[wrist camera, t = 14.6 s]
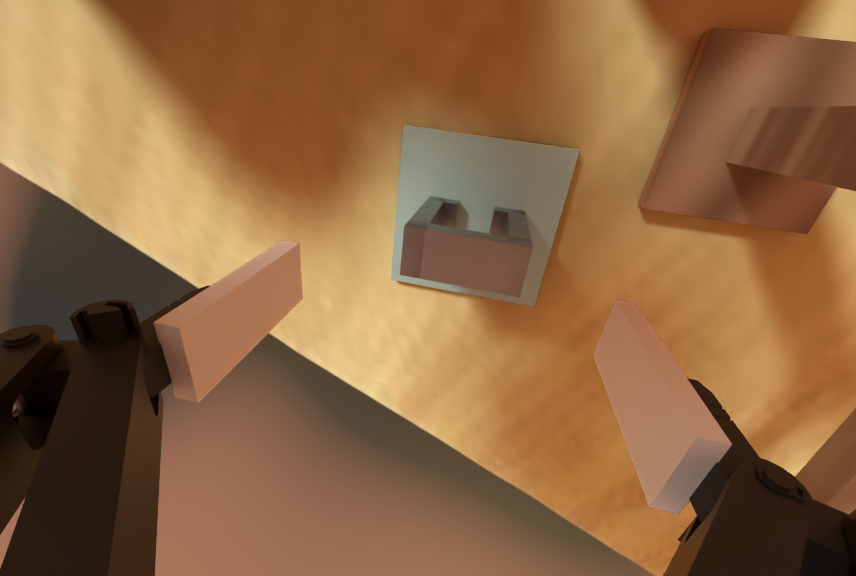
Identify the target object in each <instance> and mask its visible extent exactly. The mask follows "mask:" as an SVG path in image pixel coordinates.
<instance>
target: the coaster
mask: <svg viewBox="0 0 856 576" xmlns="http://www.w3.org/2000/svg"><path fill="white" fill-rule="evenodd" d="M579 152H580V150H579V149H575V148H568V147H561V146H554V145H546V144H539V143H532V142H525V141H518V140H511V139H504V138H497V137H490V136H483V135H475V134H468V133H461V132H454V131H447V130H440V129H433V128H426V127H419V126H411V125H403V134H402V147H401V160H400V172H399V185H398V197H397V210H396V223H395V235H394V248H393V260H392V273H391V280H395V281H401V282H406V283H411V284H416V285H421V286H427V287H432V288H437V289H442V290H448V291H453V292H458V293H463V294H469V295H474V296H479V297H484V298H490V299H495V300H500V301H505V302H510V303H516V304H521V305H526V306H531V307H535V303H536V300H537V296H538V293H539V289H540V286H541V283H542V279H543V276H544V272H545V269H546V265H547V262H548V259H549V255H550V252H551V248H552V245H553V241H554V238H555V235H556V231H557V228H558V224H559V221H560V217H561V214H562V210H563V207H564V204H565V200H566V197H567V193H568V190H569V186H570V183H571V180H572V176H573V173H574V169H575V166H576V162H577V159H578V155H579ZM430 196H434V197H440V198H447V199H453V200H459V206H458V213H457V219H456V225H455V228H460V229H466V230H471V231H477V232H483V233H489V231H490V226H491V221H492V217H493V212H494V207H495V206H496V207H502V208H508V209H514V210H521V211H525V214H526V218H527V223H528V227H529V232H530V236H531V241H532V245H533V250H532V254H531V258H530V261H529V265H528V269H527V273H526V276H525V280H524V284H523V288H522V291H521V295H520V298H519V297H514V296H509V295H503V294H498V293H493V292H487V291H482V290H477V289H472V288H466V287H461V286H456V285H450V284H445V283H440V282H435V281H429V280H424V279H419V278H413V277H408V276H403V275H400V266H401V255H402V244H403V233H404V225H405V224H406V223H407V222H408V221H409V220H410V218H411V217H412V216H413V215H414V214H415V213H416V212H417V210H418V209H419V208H420V207H421V206H422V205H423V204H424V202H425V201H426V200H427V199H428V198H429V197H430Z"/></svg>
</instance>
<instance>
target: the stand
mask: <svg viewBox="0 0 856 576" xmlns="http://www.w3.org/2000/svg"><path fill="white" fill-rule="evenodd" d="M836 187H840V188H844V189H849V190H853V191H856V42H849V41H839V40H829V39H819V38H809V37H799V36H789V35H779V34H769V33H759V32H749V31H739V30H729V29H719V28H714V29H711V30H709V31H706V32H704V34H703V37H702V39H701V42H700V45H699V47H698V50H697V52H696V55H695V58H694V60H693V63H692V65H691V68H690V71H689V73H688V76H687V78H686V81H685V84H684V86H683V89H682V91H681V94H680V97H679V99H678V102H677V104H676V107H675V110H674V112H673V115H672V117H671V120H670V123H669V125H668V128H667V130H666V133H665V136H664V138H663V141H662V143H661V146H660V149H659V151H658V154H657V156H656V159H655V162H654V164H653V167H652V169H651V172H650V175H649V177H648V180H647V182H646V185H645V188H644V190H643V193H642V195H641V198H640V201H639V203H638V205H639V206H641V207H642V208H644V209H649V210H656V211H662V212H668V213H675V214H681V215H688V216H694V217H700V218H707V219H713V220H720V221H726V222H733V223H739V224H745V225H752V226H758V227H765V228H771V229H778V230H784V231H790V232H797V233H803V234H808V232H809V230H810V229H811V227H812V226H813V224H814V222H815V221H816V219H817V217H818V216H819V214H820V213H821V211H822V209H823V208H824V206H825V205H826V203H827V201H828V200H829V198H830V197H831V195H832V193H833V192H834V190H835V189H836ZM795 478H796V479H797V480H798V481H799V482H800V483H801V484H803V485H804V486H805V488H806V489H807V491H808V492H809V494H810V495H811V497H812V499H814V500H816V501H819V502H821V503H823V504H826V505H828V506H830V507H833V508H835V509H837V510H839V511H842V512H844V513H846V514H850V513H852V512H853V511H854V510H855V509H856V409H855V410H854V411H853V412H852V413H851V414H850V416H849V417H848V418H847V419H846V420H845V421H844V422H843V423H842V425H841V426H840V427H839V428H838V429H837V430H836V431H835V432H834V434H833V435H832V436H831V437H830V438H829V439H828V440H827V441H826V443H825V444H824V445H823V446H822V447H821V448H820V449H819V450H818V452H817V453H816V454H815V455H814V456H813V457H812V458H811V459H810V461H809V462H808V463H807V464H806V465H805V466H804V467H803V468H802V470H801V471H800V472H799V473H798V474H797V475H796V476H795Z"/></svg>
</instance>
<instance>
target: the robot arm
mask: <svg viewBox="0 0 856 576" xmlns="http://www.w3.org/2000/svg"><path fill="white" fill-rule="evenodd" d="M302 299H303V296H302V278H301V261H300V243H296V242H290V241H285V240H282V241H280V242H279V243H277V244H276V245H274V246H273V247H271V248H269V249H268V250H266V251H265V252H263V253H262V254H260V255H258V256H257V257H255V258H254V259H252V260H251V261H249V262H248V263H246V264H244V265H243V266H241V267H240V268H238V269H237V270H235V271H233V272H232V273H230V274H229V275H227V276H226V277H224V278H222V279H221V280H219V281H218V282H216V283H215V284H213V285H211V286H205V287H202V288H200V289H197V290H194V291H191V292H190V293H188V294H187V295H185V296H183V297H182V298H180V300H177V301H175V302H174V303H172V304H171V305H170V306H167V307H165V308H164V309H162V310H161V311H159V312H157V313H156V314H154V315H153V316H151V317H149V318H148V319H146V320H144V321H143V322H141V323H139V321H138V318H137V315H136V312H135V309H134V306H133V304H132V303H130V302H128V301H124V300H106V301H101V302H97V303H93V304H90V305H87V306H84V307H82V308H80V309H79V310H77V311H75V312H74V313H73V314H72V315H71V316H70V319H71V322H72V324H73V327H74V329H75V331H76V334H77V336H78V338H79V340H76V341H75V340H69V341H59V339H58V337H57V335H56V333H55V330H54V329H53V328H52V327H50V326H47V325H33V326H22V327H18V328H14V329H10V330H8V331H6V332H4V333H1V334H0V534H1V533H2V531H3V530H4V528H5V527H6V525H7V524H8V522H9V521H10V519H11V518H12V516H13V515H14V513H15V512H16V510H17V509H18V507H19V506H20V504H21V503H22V501H23V500H24V498H25V497H26V498H25V501H24V504H23V507H22V509H21V512H20V515H19V518H18V521H17V524H16V526H15V529H14V532H13V535H12V538H11V540H10V543H9V546H8V549H7V552H6V555H5V558H4V560H3V563H2V566H1V569H0V576H155V557H156V538H157V537H156V536H157V517H158V498H159V477H160V459H161V458H160V457H161V439H162V419H163V397H162V394H161V391H162V390H163V389H164V388H166V387H167V386H168V385H169V384H170V383H171V384H172V387H173V391H174V394H175V397H176V398H180V399H184V400H188V401H193V402H197V403H199V402H200V401H201V400H202V399H203V398H204V397H205V396H206V395H207V394H208V393H209V392H210V391H211V390H212V389H213V388H214V387H215V386H216V385H217V384H218V383H219V381H221V379H223V378H224V377H225V376H226V375H227V374H228V373H229V372H230V371H231V370H232V369H233V368H234V367H235V366H236V364H238V363H239V362H240V361H241V360H242V359H243V358H244V357H245V356H246V355H247V354H248V353H249V352H250V351H251V350H252V349H253V348H254V347H255V346H256V345H257V344H258V343H259V342H260V341H261V340H262V339H263V338H264V337H265V336H266V335H267V334H268V333H269V332H270V331H271V330H272V329H273V328H274V327H275V326H276V325H277V324H278V323H279V322H280V321H281V320H282V319H283V318H284V317H285V316H286V315H287V314H288V313H289V312H290V311H291V310H292V309H293V308H294V307H295V306H296V305H297V304H298V303H299V302H300V301H301V300H302ZM593 357H594V360H595V363H596V365H597V368H598V371H599V374H600V376H601V379H602V382H603V384H604V387H605V390H606V392H607V395H608V398H609V401H610V403H611V406H612V409H613V411H614V414H615V417H616V420H617V422H618V425H619V428H620V430H621V433H622V436H623V439H624V441H625V444H626V447H627V449H628V452H629V455H630V457H631V460H632V463H633V466H634V468H635V471H636V474H637V476H638V479H639V482H640V485H641V487H642V490H643V493H644V495H645V498H646V501H647V503H648V506H649V508H653V509H658V510H662V511H666V512H671V513H675V514H680V513H681V511H682V510H683V509H684V507H685V506H686V505H687V503H688V502H689V501H690V502H691V504H692V506H693V508H694V510H695V512H696V514H697V516H696V518H695V519H694V520H693V521H692V523H691V524H690V525H689V526H688V528H687V529H686V530H685V531H684V533H683V534H682V535H681V536H680V538H679V539H678V540H679V541H680V542H681V543H680V545H679V547H678V549H677V551H676V553H675V555H674V556H673V558H672V560H671V562H670V564H669V566H668V568H667V570H666V572H665V574H664V575H663V576H856V509H855V510H854V511H853V512H852V513H850V514H846V513H844V512H842V511H839V510H837V509H835V508H833V507H830V506H828V505H826V504H823V503H821V502H819V501H816V500H814V499H812V497H811V495H810V494H809V492H808V491H807V489H806V488H805V486H804V485H803V484H801V483H800V482H799V481H798V480H797V479H796V478H795V477H794V476H793V475H791V474H790V473H789V472H787V471H786V470H784V469H783V468H781V467H780V466H778V465H776V464H774V463H772V462H770V461H768V460H765V459H761V458H760V457H759V456H758V455H757V453H756V452H755V451H754V449H753V448H752V447H751V445H750V444H749V442H748V441H747V440H746V438H745V437H744V436H743V434H742V433H741V431H740V430H739V429H738V427H737V426H736V425H735V423H734V422H733V421H731V420H730V416H729V415H728V414H727V412H726V411H725V410H724V409H722V406H721V404H720V403H719V401H718V400H717V399H716V397H715V396H714V395H713V393H712V392H710V391H709V390H708V389H707V388H706V387H704V386H703V385H702V384H701V383H700V382H698V381H697V380H692V379H687V377H686V376H685V374H684V373H683V371H682V370H681V369H680V367H679V366H678V364H677V363H676V361H675V360H674V358H673V357H672V355H671V354H670V352H669V351H668V349H667V348H666V347H665V345H664V344H663V342H662V341H661V339H660V338H659V336H658V335H657V333H656V332H655V330H654V329H653V327H652V326H651V324H650V323H649V322H648V320H647V319H646V317H645V316H644V314H643V313H642V311H641V310H640V308H639V307H638V305H637V304H636V303H632V302H626V301H621V300H615V303H614V305H613V307H612V310H611V312H610V315H609V317H608V320H607V322H606V324H605V327H604V329H603V332H602V334H601V336H600V339H599V341H598V344H597V346H596V348H595V351H594V353H593ZM14 404H15V406H16V407H17V408H16V409H15V410H14V411H13V405H14ZM12 411H13V412H12Z"/></svg>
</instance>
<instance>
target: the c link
mask: <svg viewBox="0 0 856 576" xmlns="http://www.w3.org/2000/svg"><path fill="white" fill-rule="evenodd" d="M458 206H459V200H453V199H447V198H440V197H434V196H430V197H429V198H428V199H427V200H426V201H425V202H424V204H423V205H422V206H421V207H420V208H419V209H418V210H417V212H416V213H415V214H414V215H413V216H412V217H411V218H410V220H409V221H408V222H407V223H406V224H405V225H404V233H403V244H402V255H401V266H400V275H403V276H408V277H413V278H419V279H424V280H429V281H435V282H440V283H445V284H450V285H456V286H461V287H466V288H472V289H477V290H482V291H487V292H493V293H498V294H503V295H509V296H514V297H519V298H520V295H521V291H522V288H523V284H524V280H525V276H526V273H527V269H528V265H529V261H530V258H531V254H532V250H533V245H532V241H531V236H530V232H529V227H528V223H527V218H526V214H525V211H521V210H514V209H508V208H502V207H496V206H495V207H494V212H493V217H492V221H491V226H490V231H489V233H483V232H477V231H471V230H466V229H460V228H455V225H456V219H457V213H458Z"/></svg>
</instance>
